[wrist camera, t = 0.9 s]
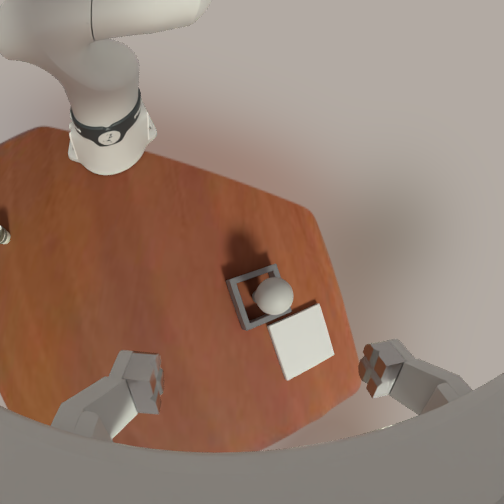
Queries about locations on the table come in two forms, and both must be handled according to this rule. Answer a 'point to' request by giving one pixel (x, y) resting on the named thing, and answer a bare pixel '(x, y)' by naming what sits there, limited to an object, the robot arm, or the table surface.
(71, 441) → the robot arm
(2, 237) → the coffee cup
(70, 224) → the table surface
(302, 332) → the mat
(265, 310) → the lightbulb
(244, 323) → the frame
